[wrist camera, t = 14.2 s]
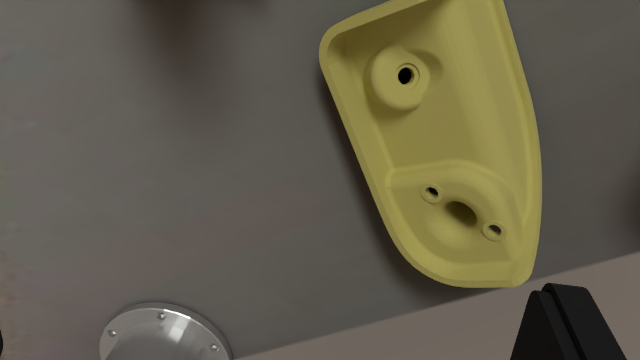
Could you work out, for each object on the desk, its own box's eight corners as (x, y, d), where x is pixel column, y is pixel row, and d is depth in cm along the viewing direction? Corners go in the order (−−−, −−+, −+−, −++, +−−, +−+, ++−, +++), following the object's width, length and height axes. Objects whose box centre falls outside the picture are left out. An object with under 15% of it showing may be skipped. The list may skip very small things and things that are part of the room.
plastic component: (307, 35, 35) (449, -20, 29) (360, 8, 40) (490, -44, 34) (409, 287, 41) (546, 288, 34) (444, 234, 46) (568, 226, 40)
